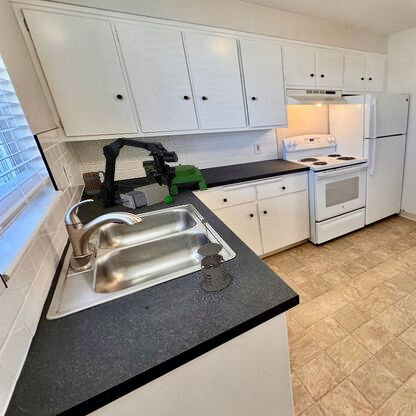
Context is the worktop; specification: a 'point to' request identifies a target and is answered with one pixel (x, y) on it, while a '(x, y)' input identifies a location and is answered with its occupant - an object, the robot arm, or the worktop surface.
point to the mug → (93, 182)
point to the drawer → (133, 199)
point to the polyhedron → (168, 199)
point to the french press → (214, 276)
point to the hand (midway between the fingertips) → (165, 187)
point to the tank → (187, 177)
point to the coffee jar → (149, 167)
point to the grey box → (154, 193)
